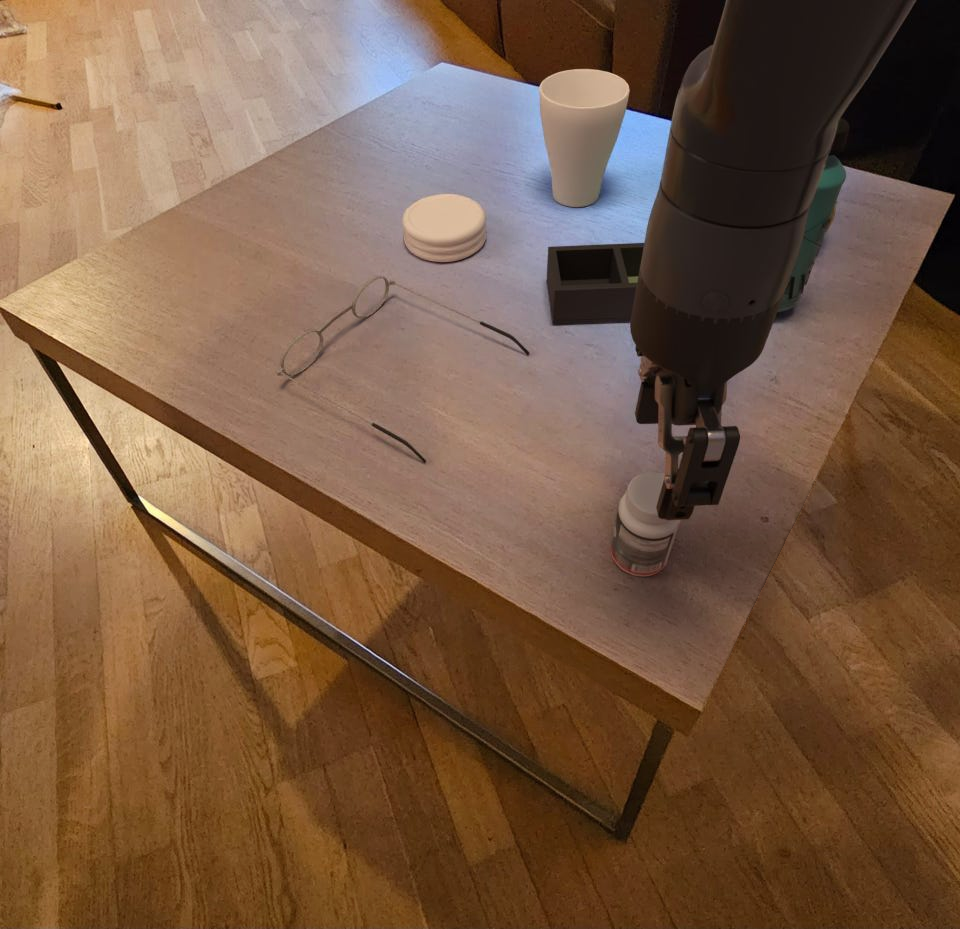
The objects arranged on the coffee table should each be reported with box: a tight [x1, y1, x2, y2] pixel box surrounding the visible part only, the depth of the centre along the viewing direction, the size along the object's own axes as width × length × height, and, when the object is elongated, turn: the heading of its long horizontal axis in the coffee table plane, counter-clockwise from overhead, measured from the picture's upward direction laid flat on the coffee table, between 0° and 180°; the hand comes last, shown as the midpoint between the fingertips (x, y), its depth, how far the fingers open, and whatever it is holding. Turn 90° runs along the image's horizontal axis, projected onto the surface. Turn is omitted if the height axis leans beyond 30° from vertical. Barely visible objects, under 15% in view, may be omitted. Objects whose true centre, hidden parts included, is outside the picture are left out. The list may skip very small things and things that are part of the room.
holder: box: [546, 242, 644, 326], centre depth 78 cm, size 8×15×5 cm, turn 92°
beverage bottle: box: [777, 117, 850, 313], centre depth 71 cm, size 6×7×20 cm
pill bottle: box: [610, 471, 682, 577], centre depth 56 cm, size 5×5×8 cm
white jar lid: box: [401, 193, 487, 263], centre depth 87 cm, size 10×10×4 cm
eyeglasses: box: [275, 275, 530, 464], centre depth 72 cm, size 18×19×4 cm
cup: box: [538, 68, 631, 208], centre depth 89 cm, size 10×10×14 cm
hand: (660, 464), depth 50 cm, fingers open, 8 cm apart
